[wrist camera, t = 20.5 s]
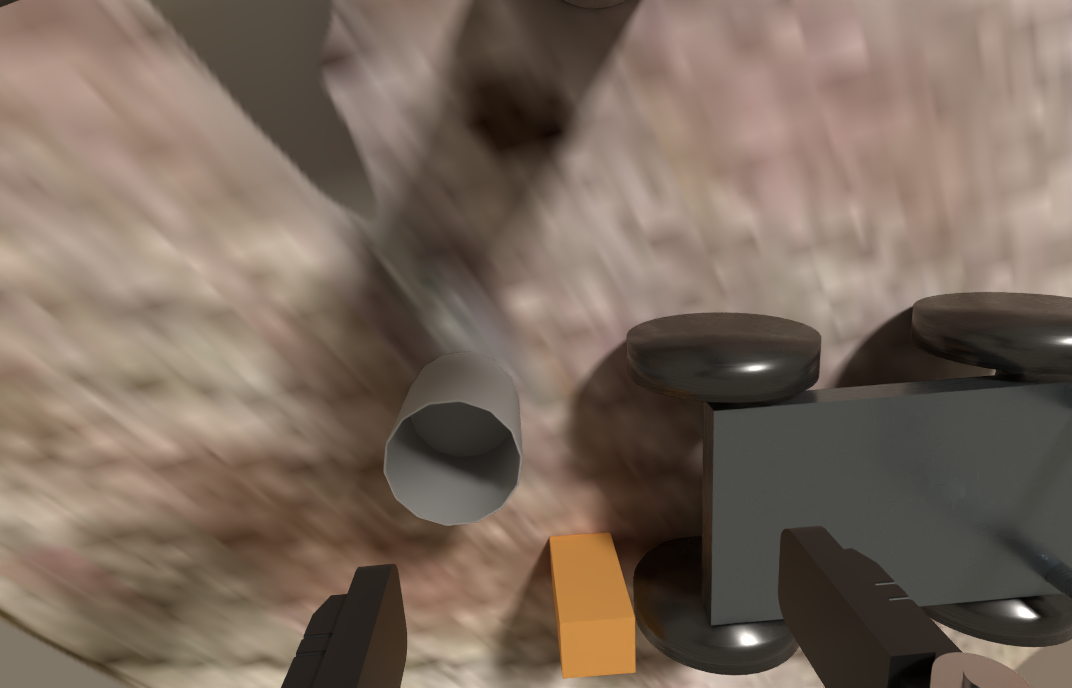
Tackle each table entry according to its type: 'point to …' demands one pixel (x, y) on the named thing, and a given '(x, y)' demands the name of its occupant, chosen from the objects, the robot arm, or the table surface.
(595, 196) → the table surface
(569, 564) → the orange rectangular block
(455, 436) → the cup
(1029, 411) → the trolley
